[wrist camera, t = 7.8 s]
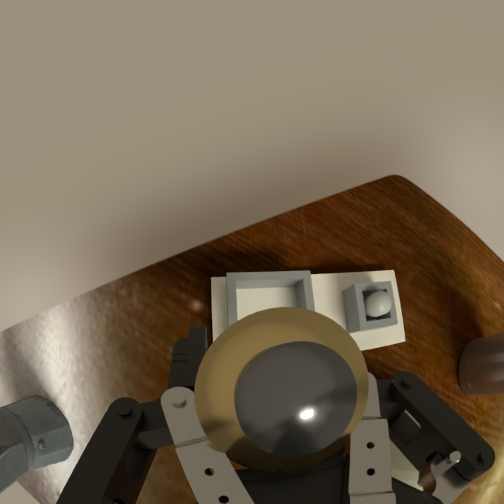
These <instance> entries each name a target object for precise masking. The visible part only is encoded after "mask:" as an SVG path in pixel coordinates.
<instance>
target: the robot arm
mask: <svg viewBox="0 0 504 504" xmlns="http://www.w3.org/2000/svg"><path fill="white" fill-rule="evenodd" d="M207 350H208V340H207V331H206V326H204V327H190V333H189V338H179V339H178V340H177V342H176V343H175V344H174V348H173V355H172V362H171V369H170V376H169V384H168V389H167V391H166V392H165V393H164V394H163V395H162V397H161V398H159V399H157V400H155V401H151V402H147V403H142V404H139V402H137V401H136V400H135V399H132V398H128V397H123V398H119V399H117V400H115V401H114V402H113V403H112V404H111V405H110V406H109V408H108V410H107V412H106V413H105V415H104V417H103V418H102V420H101V422H100V424H99V425H98V427H97V429H96V430H95V432H94V434H93V436H92V437H91V439H90V441H89V443H88V445H87V446H86V448H85V450H84V452H83V453H82V455H81V457H80V459H79V461H78V463H77V464H76V466H75V468H74V470H73V472H72V474H71V476H70V477H69V479H68V481H67V483H66V485H65V487H64V489H63V491H62V493H61V495H60V497H59V499H58V501H57V503H56V504H135V503H136V501H137V498H138V496H139V493H140V491H141V488H142V486H143V484H144V481H145V479H146V476H147V474H148V471H149V469H150V466H151V464H152V461H153V459H154V456H155V454H156V451H157V449H158V448H159V447H164V446H168V445H173V444H175V449H176V452H177V454H178V457H179V460H180V462H181V465H182V467H183V470H184V472H185V474H186V477H187V479H188V481H189V484H190V486H191V488H192V490H193V492H194V495H195V497H196V499H197V501H196V502H195V503H194V504H452V502H453V501H454V500H455V499H456V498H457V497H458V496H459V495H460V494H461V493H462V492H463V490H464V489H465V488H466V487H467V486H468V485H469V483H471V482H472V481H473V480H475V479H476V478H478V477H479V476H481V475H482V474H483V473H485V472H486V471H487V470H489V469H490V468H491V467H492V465H493V464H494V461H495V453H494V450H493V448H492V447H491V446H490V445H489V444H488V443H487V442H486V441H485V440H484V439H483V438H482V437H481V436H480V435H479V434H478V433H476V432H475V431H474V430H473V429H472V428H471V427H470V426H469V425H468V424H467V423H466V422H465V421H464V420H463V419H462V418H461V417H460V416H459V415H458V414H457V413H456V412H455V411H454V410H452V409H451V408H450V407H449V406H448V405H447V404H446V403H445V402H444V401H443V400H442V399H441V398H440V397H439V396H438V395H437V394H435V393H434V392H433V391H432V390H431V389H430V388H429V387H428V386H427V385H426V384H425V383H424V382H423V381H422V380H420V379H419V378H418V377H417V376H416V375H415V374H413V373H411V372H407V371H402V372H399V373H397V374H396V375H395V376H394V378H393V379H375V377H374V376H373V375H372V374H371V373H369V372H368V379H369V392H368V399H367V404H366V408H365V411H364V414H363V416H362V419H361V421H360V423H359V425H358V426H357V428H356V430H355V431H354V433H351V434H350V438H349V439H348V441H347V442H346V443H345V444H344V445H343V446H342V447H341V448H340V449H339V450H337V451H336V452H335V453H334V454H332V455H331V456H329V457H328V458H326V459H325V460H323V461H321V462H319V463H317V464H315V465H313V466H310V467H307V468H305V469H301V470H297V471H292V472H283V473H272V472H263V471H257V470H253V469H240V470H234V468H233V467H232V465H231V463H230V461H229V459H228V457H227V456H226V454H225V453H221V452H220V451H219V450H218V449H217V448H216V447H215V446H214V445H213V444H212V443H211V442H210V440H209V439H208V437H207V436H206V434H205V433H204V431H203V429H202V427H201V425H200V422H199V419H198V416H197V413H196V407H195V401H194V389H195V381H196V376H197V373H198V369H199V366H200V364H201V362H202V359H203V357H204V355H205V354H206V352H207ZM458 376H459V383H460V387H461V389H462V391H463V392H464V393H465V394H466V395H469V396H477V395H500V394H504V332H500V333H497V334H493V335H489V336H485V337H481V338H476V339H473V340H471V341H470V342H469V343H468V344H467V345H466V346H465V348H464V350H463V352H462V355H461V358H460V363H459V375H458ZM405 410H406V411H407V412H408V413H409V414H410V415H411V416H412V417H413V418H414V419H415V420H416V421H417V422H418V423H419V425H420V427H421V428H420V427H419V426H418V425H417V424H416V423H415V421H414V420H413V419H412V418H411V417H410V416H409V415H408V414H407V413H406V412H405ZM389 439H390V440H391V441H392V442H393V443H394V445H395V446H396V447H397V448H398V449H399V450H400V451H401V452H402V454H403V455H404V456H405V457H406V458H407V459H408V460H409V462H410V463H411V464H412V465H413V466H414V467H415V468H416V469H417V470H418V472H419V476H418V478H419V479H418V482H417V483H418V486H420V487H423V491H421V490H419V489H417V488H415V487H412V486H410V485H408V484H406V483H404V482H402V481H400V480H398V479H396V478H394V477H392V476H391V457H390V443H389Z"/></svg>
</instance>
